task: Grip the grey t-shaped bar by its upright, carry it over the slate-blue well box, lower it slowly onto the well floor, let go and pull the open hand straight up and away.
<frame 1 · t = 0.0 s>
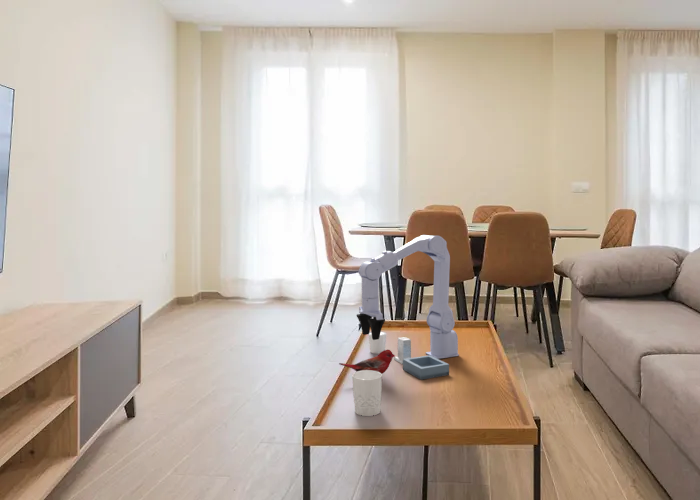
hand: (370, 336, 175), 10 cm above the table, tool pointing down, fingers open, 7 cm apart
slate well: (425, 372, 168), on the table
decorative bird figurine: (367, 382, 159), on the table
off-white tapered cylinder: (377, 351, 193), on the table
grey t-shaped bar: (404, 361, 181), on the table
white cup: (367, 412, 136), on the table
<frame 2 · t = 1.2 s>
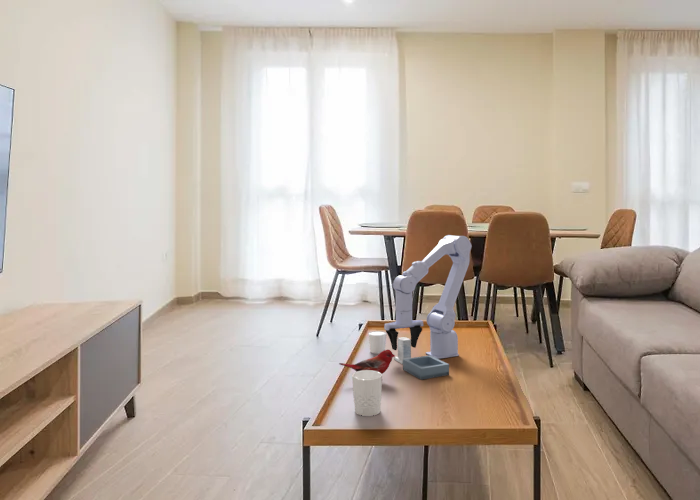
hand: (404, 348, 180), 5 cm above the table, tool pointing down, fingers open, 7 cm apart
nothing on the table moved.
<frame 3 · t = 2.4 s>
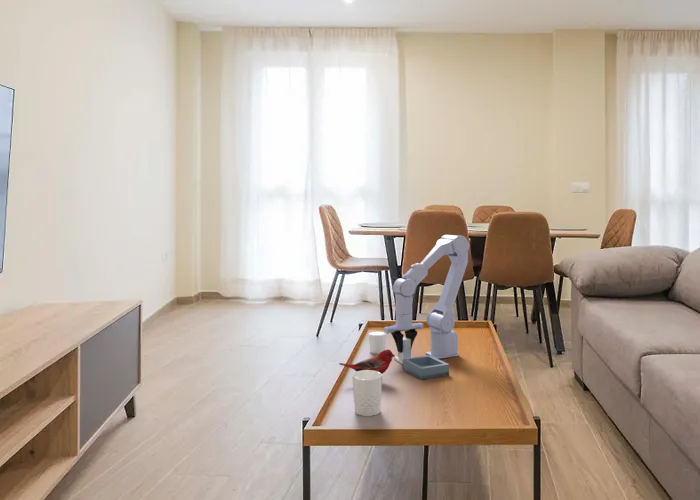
hand: (404, 351, 180), 3 cm above the table, tool pointing down, fingers closed on grey t-shaped bar, 3 cm apart
grey t-shaped bar: (404, 360, 181), on the table, touching gripper
everything else where it was.
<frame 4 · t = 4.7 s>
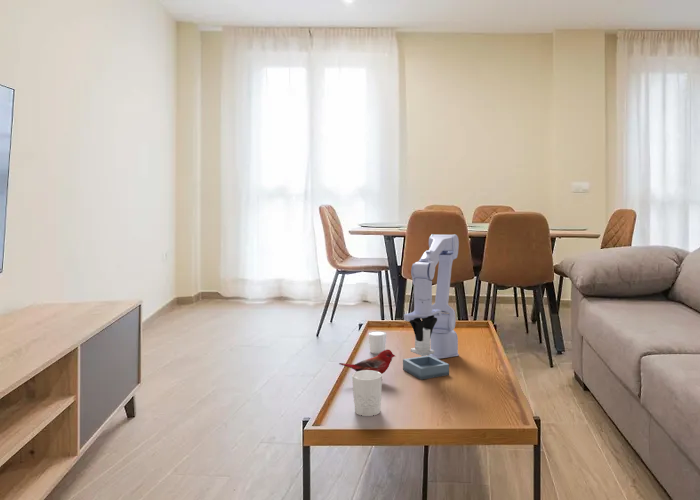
hand: (423, 339, 168), 10 cm above the table, tool pointing down, fingers closed on grey t-shaped bar, 3 cm apart
grey t-shaped bar: (422, 352, 169), point 6 cm above the table, touching gripper
everything else where it was.
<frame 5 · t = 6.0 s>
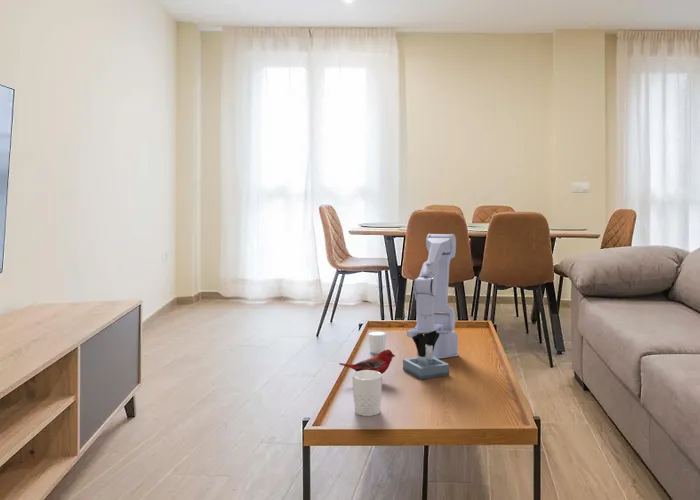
hand: (425, 355, 167), 6 cm above the table, tool pointing down, fingers closed on grey t-shaped bar, 3 cm apart
grey t-shaped bar: (424, 368, 168), point 1 cm above the table, touching gripper, slate well
everything else where it was.
when the fingers open (5 cm above the table, at t = 6.8 s): grey t-shaped bar stays where it is, resting on slate well.
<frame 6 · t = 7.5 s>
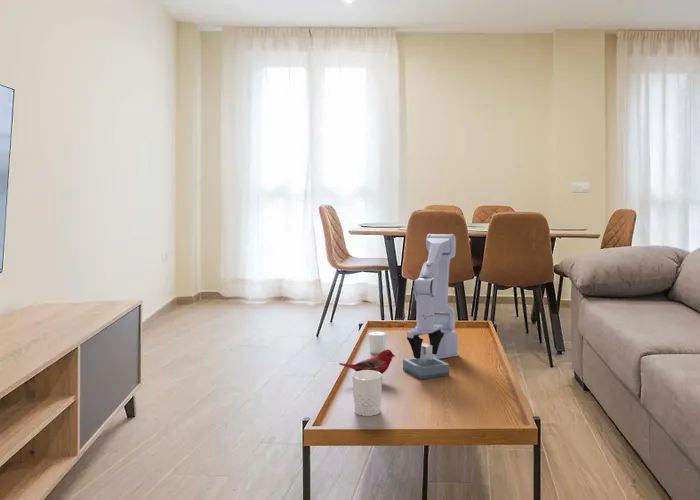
hand: (425, 355, 167), 5 cm above the table, tool pointing down, fingers open, 7 cm apart
grey t-shaped bar: (424, 368, 168), point 1 cm above the table, touching slate well
everything else where it was.
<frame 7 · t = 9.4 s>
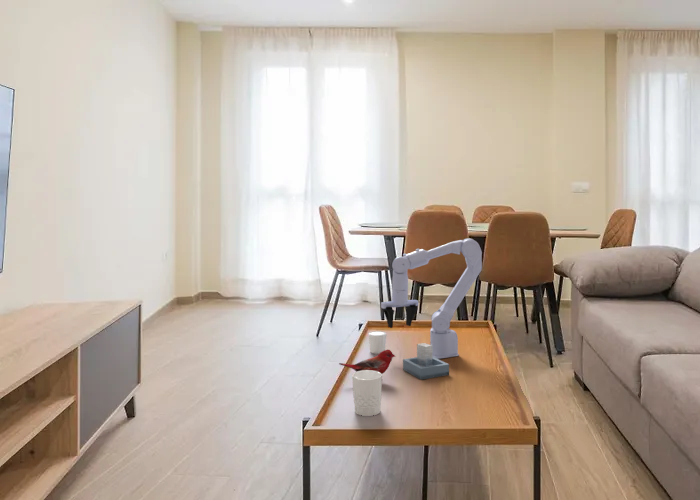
hand: (399, 326, 188), 10 cm above the table, tool pointing down, fingers open, 7 cm apart
nothing on the table moved.
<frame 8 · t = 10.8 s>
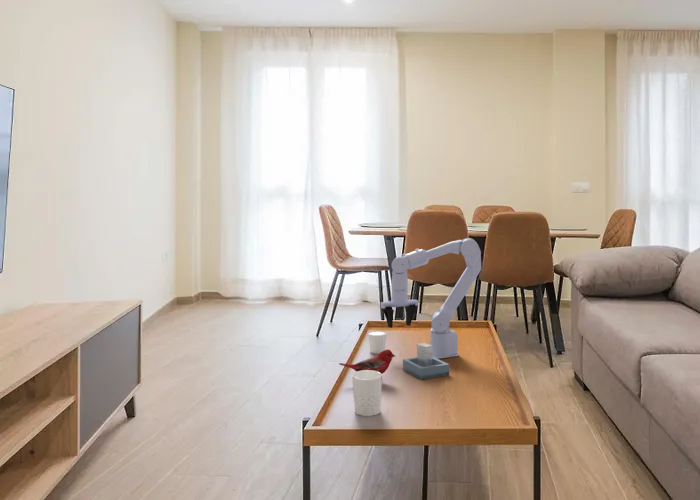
hand: (399, 326, 188), 10 cm above the table, tool pointing down, fingers open, 7 cm apart
nothing on the table moved.
at the end: grey t-shaped bar 0.4 cm off-centre on the slate well, point 1.0 cm above the slate well's base; grey t-shaped bar tilted 0°; the gripper is holding nothing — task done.
